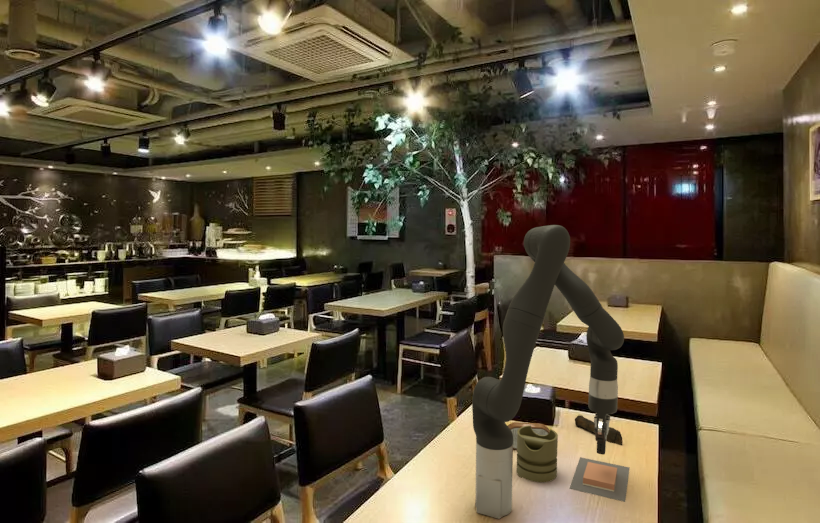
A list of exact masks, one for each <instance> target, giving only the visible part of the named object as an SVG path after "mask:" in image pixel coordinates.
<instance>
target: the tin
mask: <svg viewBox="0 0 820 523" xmlns="http://www.w3.org/2000/svg"><path fill="white" fill-rule="evenodd" d="M528 425H531V428H532V430H533V431H534V432H535V433H536V434H538V435H547V434H549V432H550V428H549V427H548V426H547V425H545V424H544V423H535V422H517V421H515V422H510V423H509V424H508V425H507V426H508V427H509V428H510V430H511V431H512V433H513V450H516V451H517V431H518V429H519V428H521V427H523V426H528Z"/></svg>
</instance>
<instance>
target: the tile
mask: <svg viewBox="0 0 820 523" xmlns="http://www.w3.org/2000/svg"><path fill="white" fill-rule="evenodd" d="M616 478H617V468H615V467H610V466H605V465H601V464H596V463H591V462H588V463H587V466H586V470H585V473H584V476H583V485H587V486H591V487H596V488H600V489H604V490H609V491H613V492H614V489H615V484H616Z"/></svg>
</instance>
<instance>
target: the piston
mask: <svg viewBox="0 0 820 523" xmlns="http://www.w3.org/2000/svg"><path fill="white" fill-rule="evenodd" d="M549 430H550V432H549V434H547V435H538V434H536V433H535V432H534V431H533V430H532V428H531V425H528V426H523V427H521V428H519V429H518V431H517V450H516V452H517V453H516V474H517V476H518V477H519V478H520V479H522V478H523V479H525V480H527V481H530V482H534V483H549V482H552V481H554V480H555V479H556V478H557V476H558V474H557V472H558V458H557V457H558V446H559V444H558V441H559V440H558V438H559V435H558V433H557V432H556V431H555V430H554V429H552V428H549Z"/></svg>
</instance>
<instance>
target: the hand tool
mask: <svg viewBox="0 0 820 523" xmlns="http://www.w3.org/2000/svg"><path fill="white" fill-rule="evenodd" d="M574 425H575V426H577V427H579V428H583V429H585V430H587V431H589V432H591V433H594V434H595V430H594V429H595V423H594V420H591V419H588V418H586V417H584V416H583V415H582V414H578V415H576V417H575V418H574ZM606 442H608V443H610V444H616V445H619V446H623V437H622V432H621V431H620V430H617V429H615V428H614V427H611V426H609V431H608V435H607V439H606Z"/></svg>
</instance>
